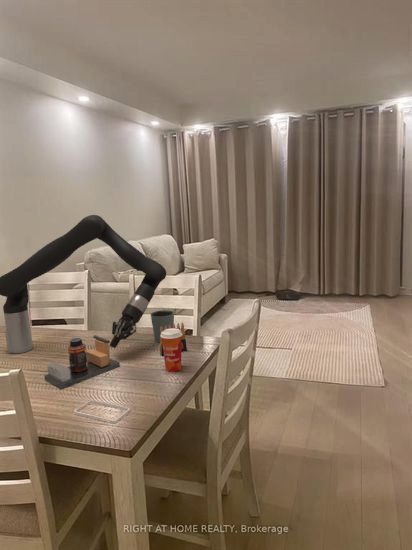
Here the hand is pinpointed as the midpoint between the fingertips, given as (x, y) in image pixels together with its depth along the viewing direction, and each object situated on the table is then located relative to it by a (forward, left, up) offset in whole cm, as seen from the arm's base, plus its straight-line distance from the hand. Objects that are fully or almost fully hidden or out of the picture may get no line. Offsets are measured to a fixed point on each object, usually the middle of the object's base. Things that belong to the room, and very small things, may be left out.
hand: (112, 346), depth 151 cm
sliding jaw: (-5, -3, -4) cm, 7 cm away
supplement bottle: (-12, -8, -4) cm, 15 cm away
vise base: (-10, -7, -6) cm, 14 cm away
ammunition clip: (+23, +1, -6) cm, 24 cm away
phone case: (-3, -38, -7) cm, 39 cm away
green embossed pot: (+21, +18, -6) cm, 28 cm away
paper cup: (+21, -14, -6) cm, 26 cm away
